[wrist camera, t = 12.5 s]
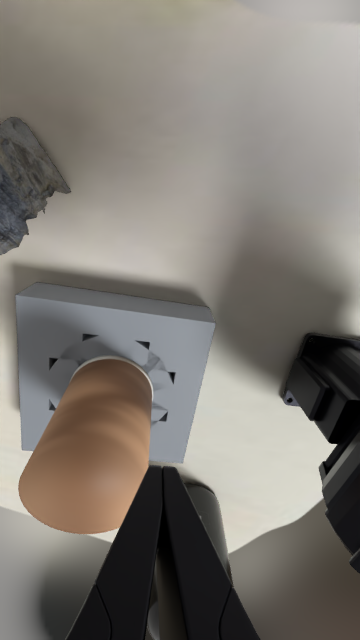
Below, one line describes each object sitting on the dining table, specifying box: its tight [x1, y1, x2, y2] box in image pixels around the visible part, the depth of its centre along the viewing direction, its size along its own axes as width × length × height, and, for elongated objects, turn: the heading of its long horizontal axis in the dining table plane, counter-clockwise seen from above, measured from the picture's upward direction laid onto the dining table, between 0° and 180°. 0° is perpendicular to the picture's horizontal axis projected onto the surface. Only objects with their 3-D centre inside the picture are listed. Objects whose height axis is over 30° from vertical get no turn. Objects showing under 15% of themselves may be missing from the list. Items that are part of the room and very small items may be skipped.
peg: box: [18, 355, 153, 534], centre depth 17 cm, size 6×6×10 cm
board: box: [16, 282, 216, 463], centre depth 21 cm, size 12×12×3 cm
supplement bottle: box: [147, 484, 234, 640], centre depth 23 cm, size 7×7×12 cm
